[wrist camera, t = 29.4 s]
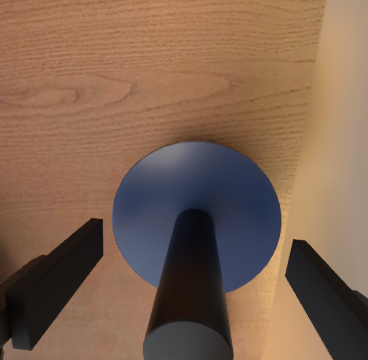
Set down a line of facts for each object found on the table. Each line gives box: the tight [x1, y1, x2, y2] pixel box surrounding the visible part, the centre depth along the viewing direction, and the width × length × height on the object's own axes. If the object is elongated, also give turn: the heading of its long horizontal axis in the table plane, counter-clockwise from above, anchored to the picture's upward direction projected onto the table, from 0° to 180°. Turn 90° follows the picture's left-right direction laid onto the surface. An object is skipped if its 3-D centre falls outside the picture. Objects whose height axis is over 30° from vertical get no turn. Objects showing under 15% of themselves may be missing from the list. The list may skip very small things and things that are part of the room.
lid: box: [112, 141, 281, 360], centre depth 13 cm, size 14×14×11 cm
